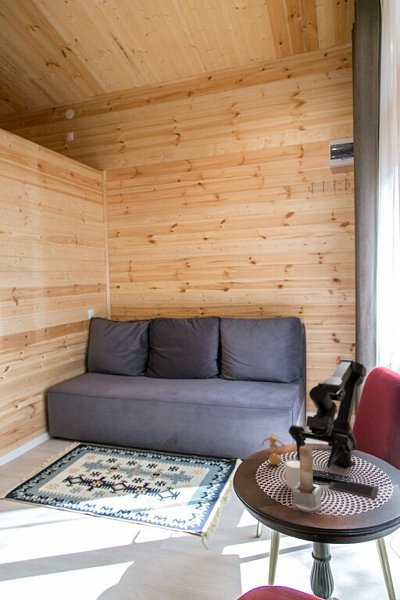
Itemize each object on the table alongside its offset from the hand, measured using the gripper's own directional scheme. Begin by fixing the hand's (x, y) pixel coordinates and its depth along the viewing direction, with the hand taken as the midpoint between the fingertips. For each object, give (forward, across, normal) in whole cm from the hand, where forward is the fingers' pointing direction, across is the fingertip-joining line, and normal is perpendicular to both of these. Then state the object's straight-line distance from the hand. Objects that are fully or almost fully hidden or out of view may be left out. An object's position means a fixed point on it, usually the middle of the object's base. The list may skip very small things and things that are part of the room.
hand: (312, 463), depth 124 cm
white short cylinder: (+5, -8, +10) cm, 14 cm away
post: (+7, 0, 0) cm, 7 cm away
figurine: (-1, -19, +16) cm, 26 cm away
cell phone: (0, +8, +16) cm, 18 cm away
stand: (+11, 0, +4) cm, 11 cm away
